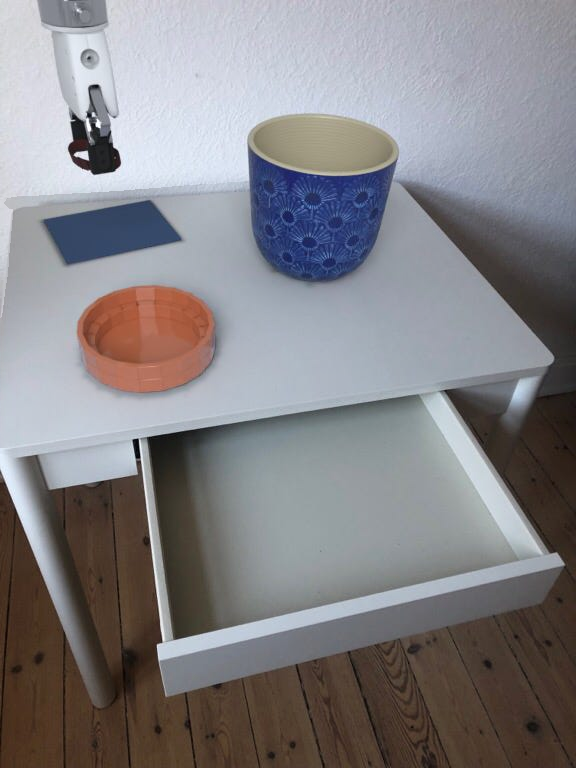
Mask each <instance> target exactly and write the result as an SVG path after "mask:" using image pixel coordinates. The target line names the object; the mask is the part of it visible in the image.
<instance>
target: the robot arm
mask: <svg viewBox="0 0 576 768" xmlns="http://www.w3.org/2000/svg"><path fill="white" fill-rule="evenodd" d="M36 2H37V6H38V12H39V19H40V24H41V26H42V27H43V28H44V29H47V30H49V31H51V39H52V46H53V53H54V61H55V66H56V73H57V77H58V83H59V87H60V92H61V95H62V98H63V100H64V101H65V103H66V105H67V106H68V114H69V115H68V116H69V119H70V121H69V123H70V130H71V136H72V141H75V140H79V139H86V140H89V143H86V144H87V150H81V151H78V152H77V153H82V152H87V156H88V157H87V158H88V160H89V164H90V170H89V171H90V173H91V174H92V175H93V176H97V175H104V174H111V173H115V172H116V171H117V169H116V164H115V156H114V148H115V147H114V141H113V140H114V139H113V135H112V129H111V127H112V124H111V119H110V117H111V118H113V119H117V118H118V117H119V115H120V110H119V103H118V97H117V91H116V84H115V78H114V72H113V65H112V59H111V53H110V49H109V46H108V45H109V44H108V42H107V36H106V32H105V29H107V28H108V27H109V16H108V9H107V8H108V7H107V0H37V1H36ZM93 113H94V116H93ZM113 147H114V148H113Z"/></svg>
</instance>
